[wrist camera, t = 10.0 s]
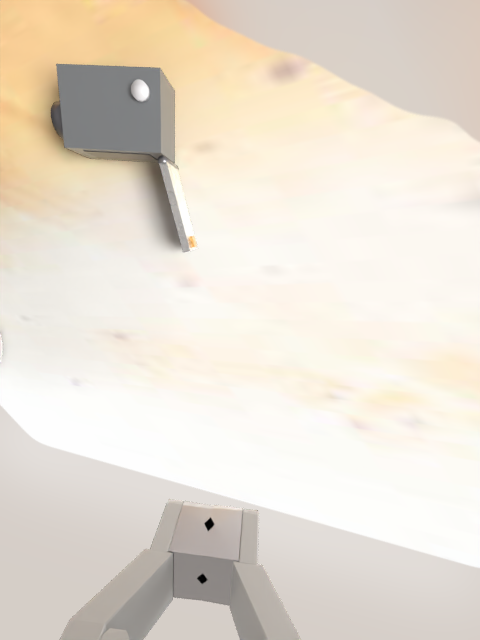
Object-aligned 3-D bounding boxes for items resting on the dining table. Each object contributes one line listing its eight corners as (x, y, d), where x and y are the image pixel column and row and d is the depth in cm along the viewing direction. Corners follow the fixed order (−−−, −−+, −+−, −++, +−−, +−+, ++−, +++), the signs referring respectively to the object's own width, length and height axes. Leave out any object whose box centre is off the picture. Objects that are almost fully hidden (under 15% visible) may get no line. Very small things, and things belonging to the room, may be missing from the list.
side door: (200, 248, 36) (192, 250, 32) (191, 250, 36) (182, 252, 32) (179, 163, 33) (167, 153, 29) (169, 165, 33) (156, 156, 29)
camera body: (77, 158, 34) (45, 145, 29) (71, 86, 32) (35, 59, 27) (174, 164, 33) (159, 152, 28) (174, 91, 31) (157, 64, 26)
